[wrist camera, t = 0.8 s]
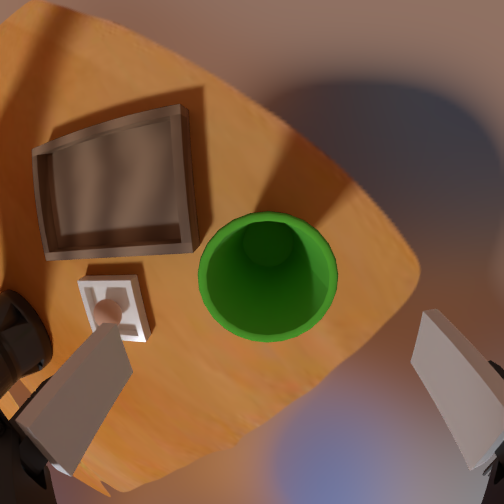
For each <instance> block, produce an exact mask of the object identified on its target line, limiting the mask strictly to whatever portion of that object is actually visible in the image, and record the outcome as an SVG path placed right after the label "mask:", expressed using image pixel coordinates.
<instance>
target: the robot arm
mask: <svg viewBox="0 0 504 504" xmlns="http://www.w3.org/2000/svg"><path fill="white" fill-rule="evenodd" d="M51 358H52V347H51V343H50V339H49V336H48V334H47V331H46V329H45V327H44V325H43V323H42V322H41V320H40V318H39V317H38V315H37V313H36V312H35V311H34V309H33V308H32V307H31V305H30V304H29V303H28V302H27V301H26V300H25V299H24V298H23V297H22V296H21V295H19V294H18V293H16V292H14V291H11V290H6V291H4V292H2V293H1V294H0V399H1V398H2V397H3V396H4V394H5V393H6V392H7V391H8V390H9V389H10V388H11V387H12V385H14V383H16V382H17V381H18V380H19V379H20V378H23V377H25V376H28V375H30V374H33V373H35V372H38V371H40V370H42V369H43V368H44V367H45V366H46V365H47V364H48V363H49V362H50V361H51ZM411 364H412V365H413V367H414V369H415V370H416V372H417V374H418V375H419V377H420V378H421V380H422V382H423V383H424V385H425V387H426V389H427V390H428V392H429V394H430V395H431V397H432V399H433V400H434V402H435V404H436V406H437V407H438V409H439V411H440V413H441V415H442V417H443V418H444V420H445V422H446V424H447V426H448V428H449V430H450V431H451V433H452V435H453V437H454V439H455V441H456V443H457V445H458V447H459V449H460V451H461V453H462V455H463V457H464V459H465V461H466V463H467V466H468V468H469V470H473V469H474V468H476V467H478V466H480V465H482V464H484V463H485V462H486V461H487V460H488V459H489V458H490V457H491V456H492V454H493V453H494V452H495V454H496V456H497V458H496V459H495V460H494V461H493V462H492V463H491V464H490V465H489V466H488V467H487V469H485V471H484V473H483V475H486V474H487V472H488V471H489V470H490V469H491V468H492V469H491V472H490V474H489V475H488V476H490V477H489V481H488V484H487V488H486V491H485V494H484V497H483V500H482V503H481V504H504V370H503V369H502V368H501V367H500V366H499V365H497V364H496V363H494V362H492V361H487V360H486V359H485V358H484V357H483V356H482V355H481V354H480V353H479V351H478V350H477V349H476V348H475V347H474V346H473V345H472V344H471V343H470V342H469V341H468V340H467V339H466V337H465V336H464V335H463V334H462V333H461V332H460V331H459V330H458V329H457V328H456V327H455V326H454V325H453V324H452V323H451V322H450V321H449V320H448V319H447V318H446V317H445V316H444V315H443V314H442V313H441V312H440V311H439V310H438V309H433V310H426V311H423V314H422V319H421V323H420V328H419V333H418V337H417V340H416V344H415V348H414V352H413V355H412V359H411ZM132 373H133V370H132V368H131V365H130V362H129V359H128V357H127V354H126V351H125V348H124V345H123V342H122V339H121V336H120V333H119V330H118V327H117V324H116V323H102V324H101V325H100V326H99V327H98V328H97V329H96V330H95V331H94V332H93V333H92V334H91V336H90V337H89V338H88V339H87V340H86V341H85V342H84V343H83V344H82V345H81V346H80V347H79V348H78V349H77V350H76V351H75V352H74V353H73V354H72V356H71V357H70V358H69V359H68V360H67V361H66V362H65V363H64V364H63V365H62V366H61V367H60V369H59V370H58V371H57V372H56V373H55V374H54V375H53V376H51V377H49V378H48V379H46V380H45V381H43V382H42V383H41V384H40V385H39V387H38V388H37V389H36V391H34V392H33V393H32V395H31V397H30V398H28V399H27V400H26V401H25V403H24V404H23V405H22V406H21V407H20V408H19V410H18V411H17V412H16V413H15V414H14V416H13V417H12V418H11V419H10V420H9V421H8V419H7V418H6V416H5V415H4V414H3V412H2V411H1V409H0V504H57V502H56V499H55V494H54V490H53V486H52V481H51V476H50V471H49V469H48V467H47V466H46V463H47V462H48V461H49V462H50V463H51V464H52V465H53V466H54V467H55V468H56V469H57V470H59V471H61V472H63V473H65V474H67V475H69V476H72V475H73V473H74V471H75V470H76V468H77V466H78V464H79V462H80V461H81V459H82V457H83V455H84V453H85V452H86V450H87V448H88V446H89V445H90V443H91V441H92V439H93V438H94V436H95V434H96V433H97V431H98V429H99V427H100V426H101V424H102V422H103V421H104V419H105V417H106V416H107V414H108V412H109V410H110V409H111V407H112V405H113V404H114V402H115V401H116V399H117V397H118V396H119V394H120V392H121V391H122V389H123V387H124V386H125V384H126V383H127V381H128V379H129V378H130V376H131V374H132Z"/></svg>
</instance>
